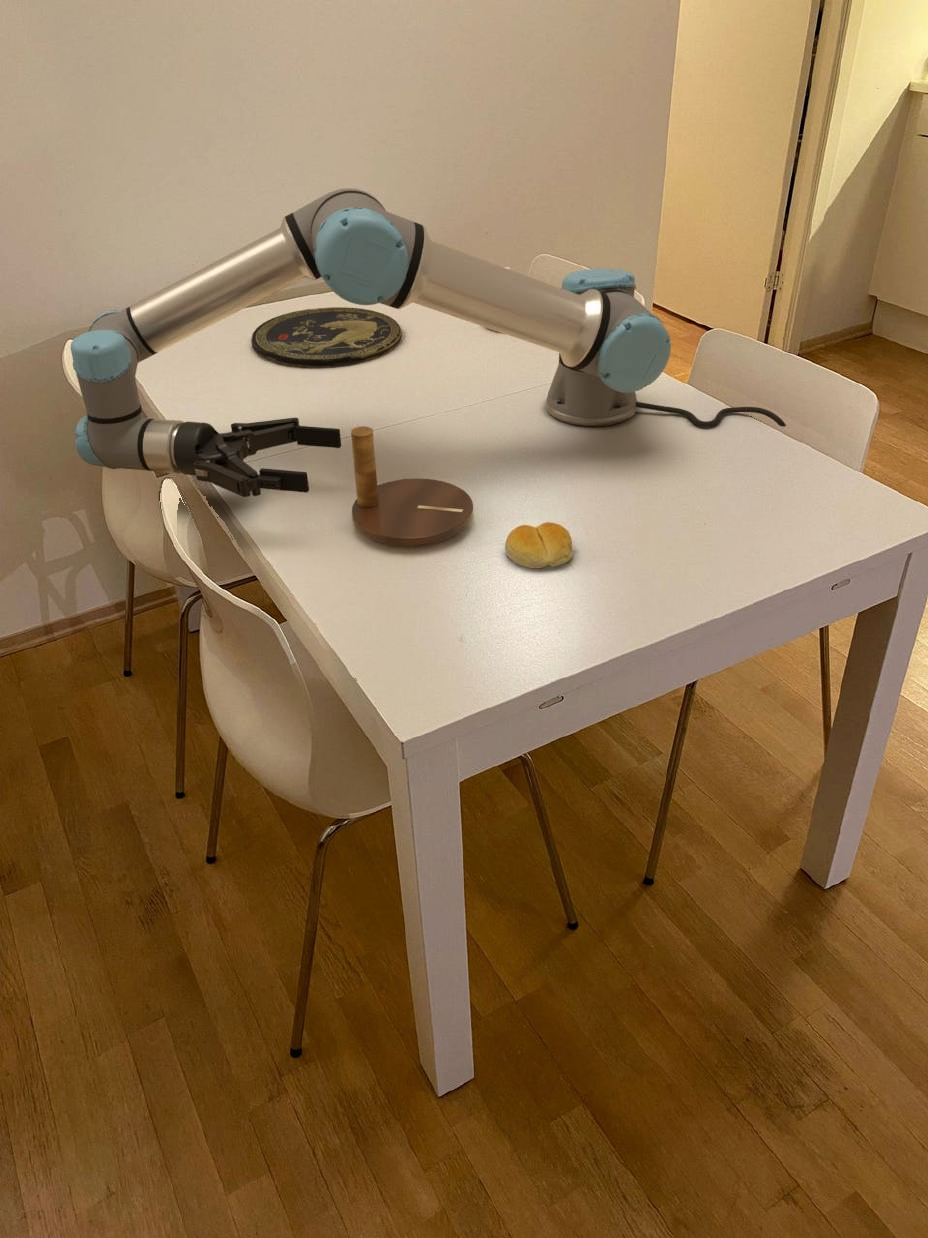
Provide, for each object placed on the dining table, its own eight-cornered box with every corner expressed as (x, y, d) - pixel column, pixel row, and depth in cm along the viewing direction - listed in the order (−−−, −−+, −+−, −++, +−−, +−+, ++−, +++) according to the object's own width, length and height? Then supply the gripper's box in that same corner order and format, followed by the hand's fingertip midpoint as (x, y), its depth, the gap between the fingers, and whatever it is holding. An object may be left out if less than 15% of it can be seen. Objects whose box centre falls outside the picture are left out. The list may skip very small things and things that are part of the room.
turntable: (484, 490, 147) (483, 412, 140) (458, 551, 133) (455, 468, 126) (372, 480, 150) (366, 404, 143) (336, 539, 137) (327, 457, 130)
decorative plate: (227, 354, 192) (280, 302, 216) (228, 363, 193) (281, 311, 217) (379, 364, 187) (416, 309, 211) (379, 373, 188) (417, 318, 212)
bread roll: (501, 541, 138) (501, 516, 135) (565, 536, 138) (566, 510, 136) (510, 574, 131) (510, 547, 129) (578, 568, 132) (579, 542, 129)
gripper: (223, 434, 156) (354, 445, 152) (148, 513, 136) (295, 528, 132) (215, 388, 152) (349, 398, 147) (136, 463, 132) (288, 476, 128)
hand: (324, 459), depth 140 cm, fingers open, 13 cm apart
